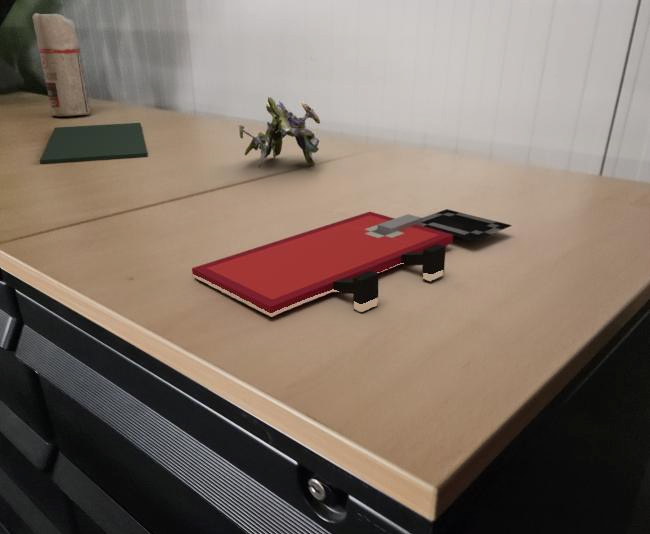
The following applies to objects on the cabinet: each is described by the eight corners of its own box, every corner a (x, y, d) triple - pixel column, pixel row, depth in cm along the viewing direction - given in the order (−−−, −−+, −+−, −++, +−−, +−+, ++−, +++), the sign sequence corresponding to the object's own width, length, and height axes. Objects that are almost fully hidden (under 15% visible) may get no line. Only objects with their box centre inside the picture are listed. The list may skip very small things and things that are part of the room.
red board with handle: (527, 238, 63) (414, 209, 73) (531, 211, 61) (415, 185, 71) (302, 339, 45) (193, 282, 55) (301, 305, 44) (189, 253, 54)
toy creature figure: (309, 199, 95) (339, 142, 86) (242, 195, 91) (266, 134, 81) (292, 145, 100) (319, 86, 91) (228, 138, 95) (249, 75, 86)
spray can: (50, 114, 137) (29, 13, 127) (89, 111, 140) (72, 12, 130) (51, 119, 130) (30, 13, 121) (92, 117, 133) (74, 12, 123)
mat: (40, 164, 94) (39, 160, 94) (55, 130, 119) (54, 127, 119) (148, 156, 98) (147, 152, 98) (140, 125, 123) (140, 122, 123)
